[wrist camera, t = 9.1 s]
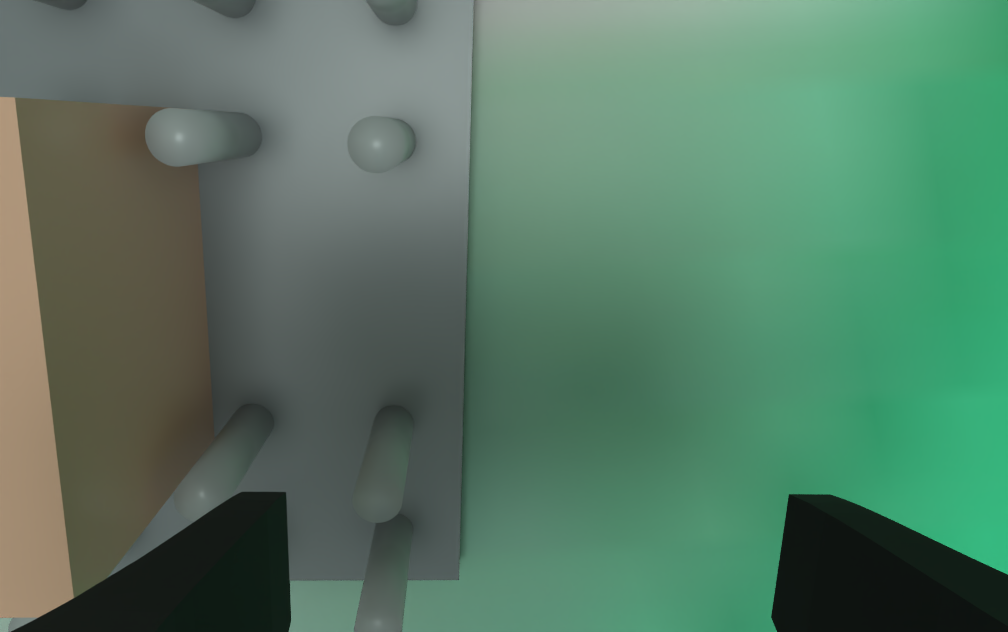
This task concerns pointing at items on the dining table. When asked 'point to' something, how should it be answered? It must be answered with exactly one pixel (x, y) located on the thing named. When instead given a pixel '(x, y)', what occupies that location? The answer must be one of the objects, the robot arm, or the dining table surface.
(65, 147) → the tall tan block
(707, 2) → the dining table surface
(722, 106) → the dining table surface
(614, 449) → the dining table surface
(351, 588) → the dining table surface
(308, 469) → the dish rack
